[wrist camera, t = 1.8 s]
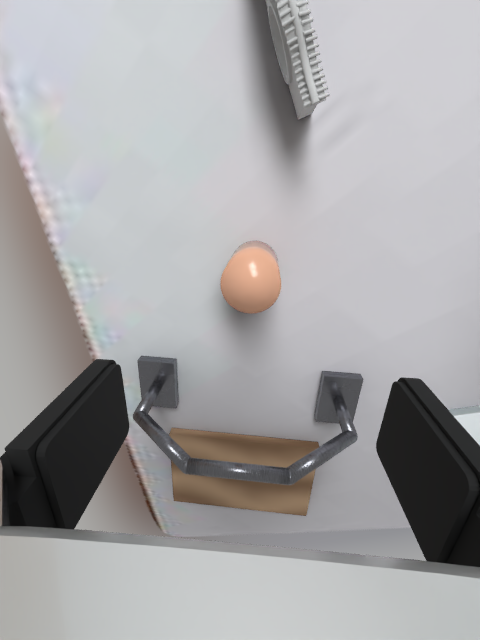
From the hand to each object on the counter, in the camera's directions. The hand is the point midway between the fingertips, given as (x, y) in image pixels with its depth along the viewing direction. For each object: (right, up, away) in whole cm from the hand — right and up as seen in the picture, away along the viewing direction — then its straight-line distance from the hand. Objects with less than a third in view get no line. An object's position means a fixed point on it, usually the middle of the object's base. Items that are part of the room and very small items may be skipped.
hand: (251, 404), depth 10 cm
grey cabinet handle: (0, -5, +23) cm, 24 cm away
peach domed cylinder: (+1, +8, +18) cm, 19 cm away
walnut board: (0, -17, +28) cm, 33 cm away
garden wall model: (+3, +24, +11) cm, 26 cm away
